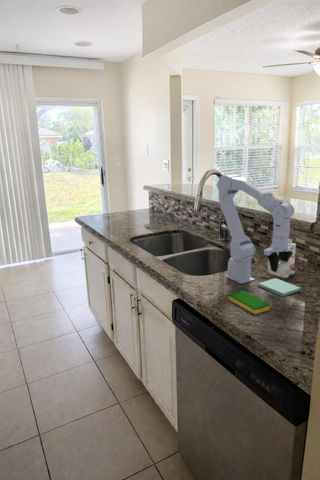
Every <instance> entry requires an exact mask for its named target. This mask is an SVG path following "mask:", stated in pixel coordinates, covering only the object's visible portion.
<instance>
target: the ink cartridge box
mask: <svg viewBox="0 0 320 480" xmlns="http://www.w3.org/2000/svg"><path fill="white" fill-rule="evenodd" d="M288 244H294V245H295V249H294V250H292V249H291V250H290V251H292V252H293V254H292V256H291V257H290V258H289V260H288V263H290V268H289V269H291V270H293V269H295V261H296V260H295V259H296V248H297V244H296V243H293V239H292V238H289V242H288ZM277 254H278V253H277ZM278 255H279V254H278Z"/></svg>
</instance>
